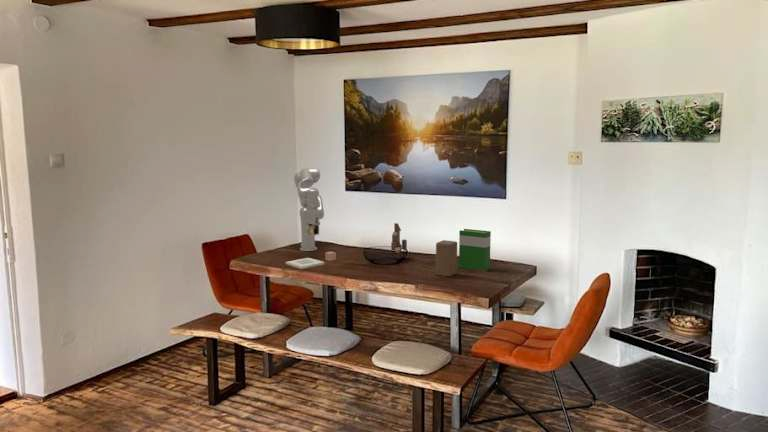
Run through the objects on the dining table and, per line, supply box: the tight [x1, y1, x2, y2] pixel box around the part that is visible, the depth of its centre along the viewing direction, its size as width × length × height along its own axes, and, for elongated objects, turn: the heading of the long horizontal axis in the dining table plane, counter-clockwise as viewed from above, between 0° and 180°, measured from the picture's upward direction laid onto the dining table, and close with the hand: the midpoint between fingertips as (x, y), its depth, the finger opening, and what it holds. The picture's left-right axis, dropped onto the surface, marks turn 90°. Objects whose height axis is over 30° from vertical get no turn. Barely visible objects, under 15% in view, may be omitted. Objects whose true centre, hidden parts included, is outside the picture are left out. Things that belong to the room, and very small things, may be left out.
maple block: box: [307, 225, 320, 236], centre depth 384 cm, size 6×6×6 cm
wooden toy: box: [390, 222, 408, 259], centre depth 375 cm, size 16×7×25 cm, turn 157°
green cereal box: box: [458, 228, 492, 271], centre depth 351 cm, size 18×7×24 cm, turn 57°
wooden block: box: [435, 239, 458, 277], centre depth 336 cm, size 10×10×20 cm
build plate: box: [285, 257, 325, 270], centre depth 366 cm, size 18×18×2 cm
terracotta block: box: [324, 251, 337, 262], centre depth 379 cm, size 5×5×5 cm
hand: (313, 233), depth 384 cm, fingers closed on maple block, 6 cm apart
